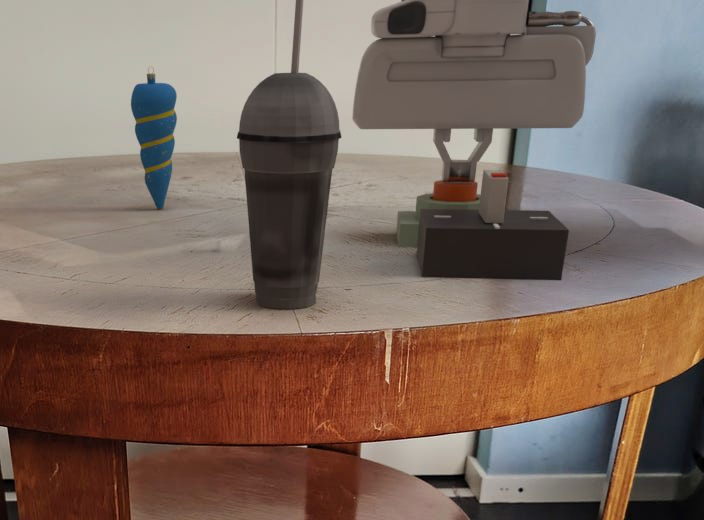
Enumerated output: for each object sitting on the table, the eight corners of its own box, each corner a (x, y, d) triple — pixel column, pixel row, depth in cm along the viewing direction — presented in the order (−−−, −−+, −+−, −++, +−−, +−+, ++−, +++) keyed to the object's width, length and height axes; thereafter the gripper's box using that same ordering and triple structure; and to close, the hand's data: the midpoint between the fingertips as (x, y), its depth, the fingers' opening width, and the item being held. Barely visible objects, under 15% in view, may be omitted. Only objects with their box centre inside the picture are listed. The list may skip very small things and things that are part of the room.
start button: (473, 198, 87) (475, 179, 86) (477, 205, 83) (480, 185, 82) (431, 198, 87) (432, 179, 86) (433, 205, 84) (435, 185, 83)
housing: (498, 235, 89) (503, 192, 87) (508, 249, 83) (514, 204, 81) (396, 233, 91) (399, 191, 89) (398, 247, 84) (401, 203, 83)
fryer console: (541, 256, 80) (548, 208, 78) (561, 281, 72) (569, 227, 70) (416, 254, 82) (420, 206, 80) (421, 278, 74) (426, 225, 72)
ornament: (189, 209, 105) (185, 66, 98) (153, 214, 102) (146, 67, 95) (163, 204, 108) (158, 65, 101) (128, 209, 105) (119, 67, 98)
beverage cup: (308, 285, 72) (317, -2, 62) (352, 307, 66) (369, -8, 56) (223, 294, 69) (219, -3, 60) (260, 318, 63) (262, -8, 54)
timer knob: (478, 212, 77) (483, 166, 76) (495, 213, 77) (500, 166, 75) (485, 223, 73) (491, 174, 71) (502, 223, 73) (509, 174, 71)
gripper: (591, 11, 79) (566, 176, 86) (357, 16, 82) (349, 176, 88) (608, 9, 74) (580, 186, 80) (356, 14, 76) (349, 185, 83)
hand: (457, 181), depth 84 cm, fingers closed
